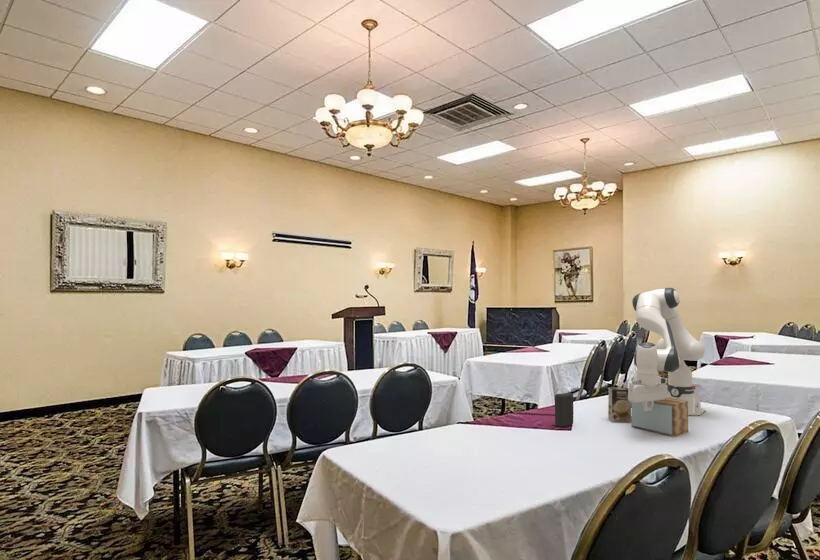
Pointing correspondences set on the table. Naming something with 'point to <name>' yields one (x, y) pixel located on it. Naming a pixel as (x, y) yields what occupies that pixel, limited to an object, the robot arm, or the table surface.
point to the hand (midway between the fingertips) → (647, 411)
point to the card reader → (563, 409)
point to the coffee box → (619, 405)
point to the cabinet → (675, 416)
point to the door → (652, 417)
